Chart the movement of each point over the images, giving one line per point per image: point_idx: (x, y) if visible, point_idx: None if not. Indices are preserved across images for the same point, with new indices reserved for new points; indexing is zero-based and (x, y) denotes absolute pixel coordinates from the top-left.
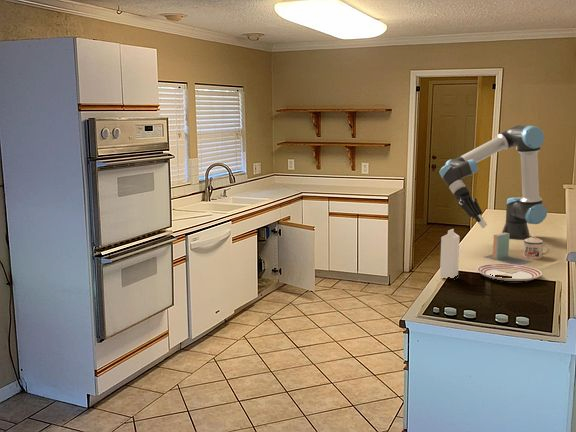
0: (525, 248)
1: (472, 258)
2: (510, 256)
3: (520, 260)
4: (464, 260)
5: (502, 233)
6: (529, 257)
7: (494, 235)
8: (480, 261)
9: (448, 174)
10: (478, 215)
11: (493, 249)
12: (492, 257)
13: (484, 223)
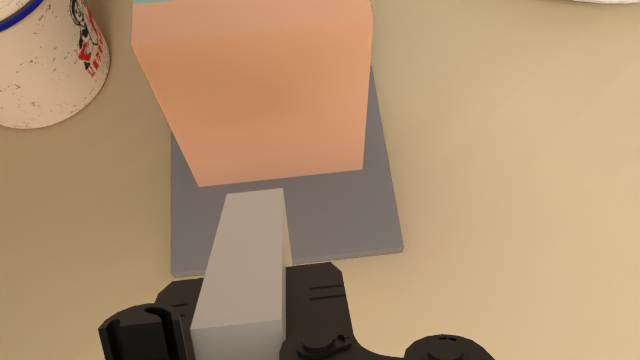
0: (71, 28)
1: (485, 307)
2: (173, 145)
3: None
4: (607, 291)
5: (211, 25)
6: (103, 40)
7: (371, 18)
8: (489, 195)
9: None
10: (280, 317)
11: (365, 121)
12: (335, 194)
13: (275, 203)
